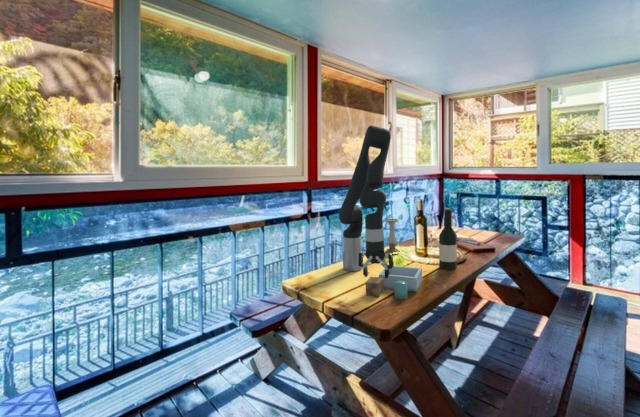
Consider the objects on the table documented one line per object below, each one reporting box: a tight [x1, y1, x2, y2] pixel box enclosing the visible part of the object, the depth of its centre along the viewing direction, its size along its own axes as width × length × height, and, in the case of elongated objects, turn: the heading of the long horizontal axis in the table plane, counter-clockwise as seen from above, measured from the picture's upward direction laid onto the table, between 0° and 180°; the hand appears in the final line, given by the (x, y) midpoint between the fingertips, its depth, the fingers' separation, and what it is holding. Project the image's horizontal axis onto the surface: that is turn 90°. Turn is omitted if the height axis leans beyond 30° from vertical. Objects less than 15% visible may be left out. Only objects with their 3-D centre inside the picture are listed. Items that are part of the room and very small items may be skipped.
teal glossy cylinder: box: [394, 281, 408, 300], centre depth 136 cm, size 5×5×6 cm
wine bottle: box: [438, 208, 458, 271], centre depth 168 cm, size 8×8×30 cm
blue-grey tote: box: [378, 265, 423, 293], centre depth 150 cm, size 16×14×6 cm
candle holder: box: [384, 218, 401, 254], centre depth 201 cm, size 9×9×20 cm
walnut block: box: [365, 276, 384, 299], centre depth 141 cm, size 6×7×6 cm
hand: (376, 277), depth 141 cm, fingers open, 8 cm apart
